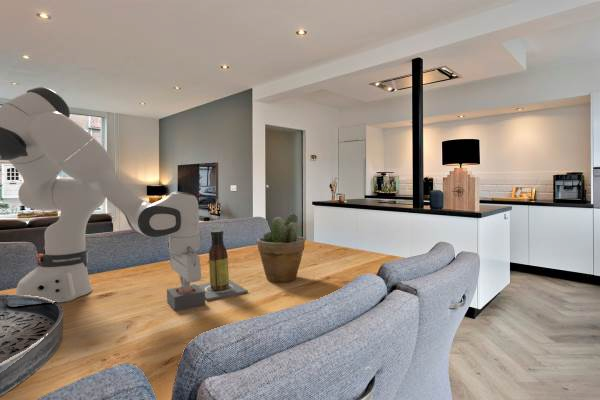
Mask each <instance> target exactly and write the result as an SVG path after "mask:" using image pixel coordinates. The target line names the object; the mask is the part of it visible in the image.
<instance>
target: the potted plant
mask: <svg viewBox="0 0 600 400" xmlns="http://www.w3.org/2000/svg"><path fill="white" fill-rule="evenodd" d="M298 220H299V218H298V215H297V214H295V213H293V212H290V213H288V214H287V216H286V219H284V218H283V217H281V216H276V217H274V218H273V219H272V223H271V227H272V228H271V230H269V231H267V232H264V234H263V235H262V237H260V238H257V239H256V243H257V251H258V252H259V255H260V256H259V257H260V260H261V264H262V267H263V270H264V274H265V278H266V280H267V281H268V282H271V283H280V284H282V283H291V282H294V281H295V280H296V278H297V275H298V272H299V268H300V265H301V261H302V259H303V258H302V256H303V251H304V250H305V244H306V243H305V242H306V238H305V237H304V236H301V235H300V236H299V235H297V231H298V228H299V227H298Z"/></svg>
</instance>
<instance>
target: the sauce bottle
mask: <svg viewBox="0 0 600 400" xmlns="http://www.w3.org/2000/svg"><path fill="white" fill-rule="evenodd" d="M210 235H211V246H210V248H209V251H208V256H209V257H208V263H209V264H208V265H209V266H208V267H209V283H210V285H211V289H212V290H217V291H218V290H225V289H227V288H228V287H229V280H230V277H229V259H228V258H229V257H228V252H227V249H226V247H225V245H224V230H222V229H216V230H211V231H210Z"/></svg>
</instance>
